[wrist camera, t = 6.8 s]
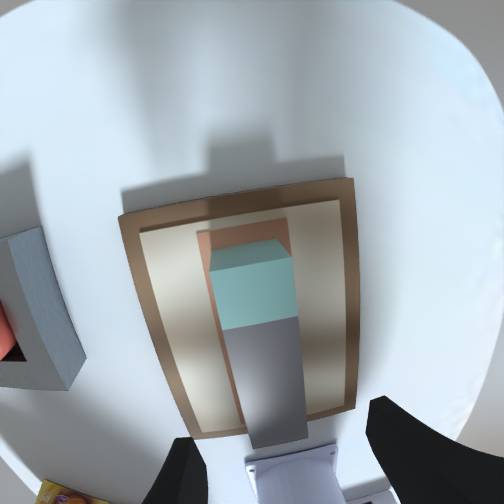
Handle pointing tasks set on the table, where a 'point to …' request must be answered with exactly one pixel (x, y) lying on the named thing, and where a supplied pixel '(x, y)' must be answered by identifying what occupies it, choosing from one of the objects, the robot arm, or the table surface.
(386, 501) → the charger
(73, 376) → the button housing
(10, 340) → the button
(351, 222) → the wooden picture frame
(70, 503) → the candy box
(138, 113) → the table surface
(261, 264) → the marker
